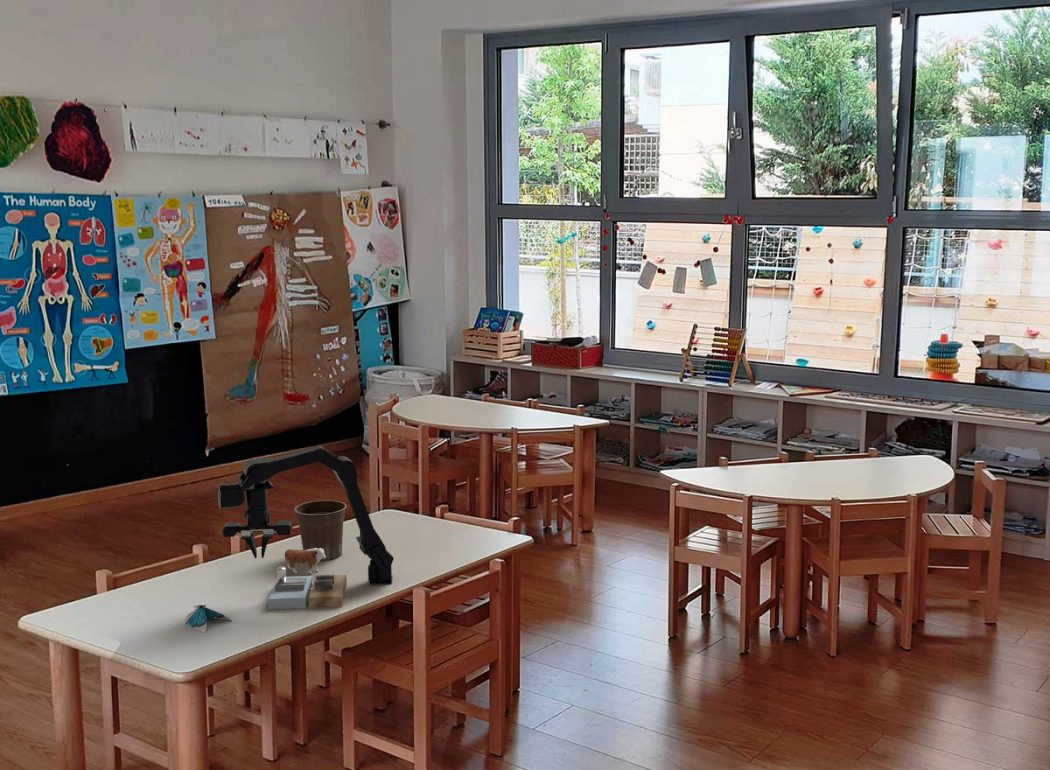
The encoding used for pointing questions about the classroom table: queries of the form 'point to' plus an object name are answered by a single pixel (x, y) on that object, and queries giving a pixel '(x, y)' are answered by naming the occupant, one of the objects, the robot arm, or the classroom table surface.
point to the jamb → (328, 591)
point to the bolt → (282, 577)
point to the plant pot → (322, 526)
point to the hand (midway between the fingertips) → (259, 557)
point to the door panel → (290, 594)
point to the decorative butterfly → (203, 617)
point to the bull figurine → (304, 558)
